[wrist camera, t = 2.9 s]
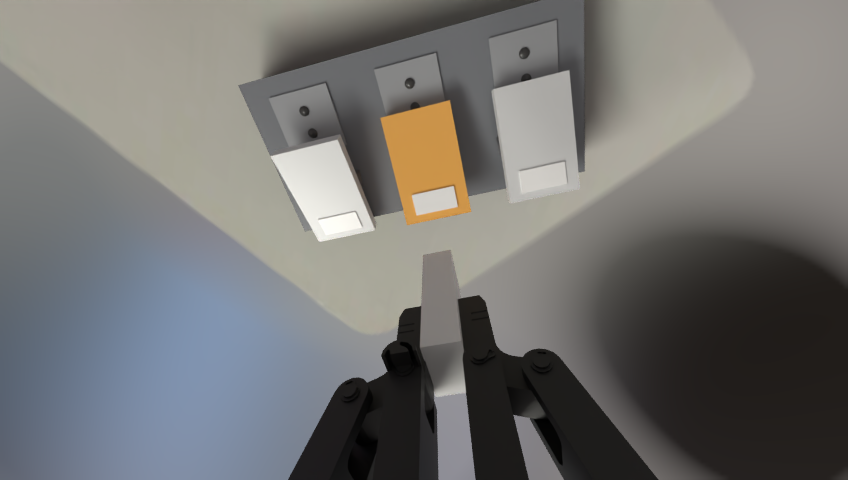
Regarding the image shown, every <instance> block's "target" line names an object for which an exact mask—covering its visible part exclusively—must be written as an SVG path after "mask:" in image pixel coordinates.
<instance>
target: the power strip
mask: <svg viewBox="0 0 848 480" xmlns="http://www.w3.org/2000/svg"><path fill="white" fill-rule="evenodd" d="M567 70H569V72H570V83H571V95H572V106H573V117H574V128H575V139H576V150H577V161H578V172H583V171H585V123H584V0H540V1H537V2H533V3H530V4H526V5H522V6H519V7H515V8H512V9H508V10H505V11H501V12H498V13H494V14H490V15H487V16H483V17H480V18H476V19H473V20H469V21H466V22H462V23H458V24H455V25H451V26H448V27H444V28H441V29H437V30H434V31H430V32H426V33H423V34H419V35H416V36H412V37H409V38H405V39H402V40H398V41H394V42H391V43H387V44H384V45H380V46H377V47H373V48H370V49H366V50H362V51H359V52H355V53H352V54H348V55H345V56H341V57H338V58H334V59H330V60H327V61H323V62H320V63H316V64H313V65H309V66H306V67H302V68H298V69H295V70H291V71H288V72H284V73H281V74H277V75H274V76H270V77H266V78H263V79H259V80H256V81H252V82H249V83H245V84H242V85H238V86H239V88H240V90H241V92H242V95H243V97H244V99H245V101H246V103H247V106H248V108H249V110H250V112H251V114H252V117H253V119H254V121H255V123H256V125H257V127H258V130H259V132H260V134H261V136H262V138H263V141H264V143H265V145H266V147H267V149H268V152H269V154H270V156H271V155H272V154H273V153H274V151H275V150H279V149H283V148H287V147H291V146H295V145H299V144H303V143H307V142H311V141H315V140H319V139H323V138H327V137H331V136H335V135H339V134H340V135H341V138H342V140H343V143H344V145H345V148H346V150H347V152H348V155H349V157H350V160H351V162H352V165H353V167H354V170H355V172H356V175H357V177H358V180H359V182H360V184H361V187H362V189H363V192H364V194H365V197H366V199H367V202H368V204H369V207H370V209H371V212H372V214H373V216H374V217H375V216H379V215H384V214H388V213H393V212H398V211H402V210H403V206H402V202H401V198H400V194H399V191H398V187H397V183H396V179H395V175H394V171H393V167H392V163H391V159H390V155H389V151H388V147H387V143H386V139H385V135H384V131H383V127H382V123H381V119H380V118H382V117H386V116H390V115H394V114H397V113H401V112H405V111H409V110H413V109H417V108H421V107H425V106H429V105H433V104H437V103H441V102H445V101H449V100H450V104H451V109H452V114H453V120H454V125H455V130H456V135H457V141H458V146H459V151H460V156H461V162H462V167H463V172H464V177H465V183H466V188H467V193H468V196H472V195H477V194H481V193H486V192H491V191H495V190H500V189H504V188H506V183H505V176H504V170H503V164H502V157H501V151H500V144H499V138H498V131H497V125H496V118H495V112H494V106H493V99H492V93H491V91H492V90H493V89H496V88H500V87H504V86H508V85H512V84H516V83H520V82H524V81H528V80H532V79H536V78H540V77H544V76H548V75H551V74H555V73H559V72H563V71H567ZM273 163H274V162H273ZM274 165H275V163H274ZM275 167H276V165H275ZM276 169H277V167H276ZM277 171H278V173H279V176H280V178H281V180H282V182H283V184H284V187H285V189H286V191H287V193H288V195H289V198H290V200H291V202H292V204H293V206H294V208H295V211H296V213H297V215H298V217H299V219H300V222H301V224H302V226H303V228H304V230H305V231H310V230H312V228H311V226H310V225H309V223H308V221H307V219H306V218H305V216H304V214H303V212H302V211H301V209H300V207H299V205H298V204H297V202H296V200H295V198H294V197H293V195H292V193H291V191H290V190H289V188H288V186H287V184H286V183H285V181H284V179H283V177H282V176H281V174H280V172H279V170H278V169H277Z"/></svg>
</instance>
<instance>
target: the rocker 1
mask: <svg viewBox="0 0 848 480" xmlns="http://www.w3.org/2000/svg"><path fill="white" fill-rule="evenodd" d="M271 158H272V160H273V162H274V163H275V165H276V167H277V169H278V170H279V172H280V174H281V176H282V177H283V179H284V181H285V183H286V184H287V186H288V188H289V190H290V191H291V193H292V195H293V197H294V198H295V200H296V202H297V204H298V205H299V207H300V209H301V211H302V212H303V214H304V216H305V218H306V219H307V221H308V223H309V225H310V226H311V228H312V230H313V232H314V233H315V235H316V237H317V239H318V240H319V242H321V241H326V240H331V239H336V238H340V237H345V236H350V235H355V234H359V233H364V232H369V231H374V230H375V228H376V221H375V219H374V216H373V214H372V212H371V209H370V207H369V204H368V202H367V199H366V197H365V194H364V192H363V189H362V187H361V184H360V182H359V180H358V177H357V175H356V172H355V170H354V167H353V165H352V162H351V160H350V157H349V155H348V152H347V150H346V148H345V145H344V143H343V140H342V138H341V135H340V134H339V135H335V136H331V137H327V138H323V139H319V140H315V141H311V142H307V143H303V144H299V145H295V146H291V147H287V148H283V149H279V150H275V151H274V153H273V154H272V155H271Z"/></svg>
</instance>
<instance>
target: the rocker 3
mask: <svg viewBox="0 0 848 480" xmlns="http://www.w3.org/2000/svg"><path fill="white" fill-rule="evenodd" d="M491 93H492V99H493V106H494V112H495V118H496V125H497V131H498V138H499V144H500V151H501V157H502V164H503V170H504V176H505V183H506V189H507V196H508V201H509V202H510V203H515V202H520V201H525V200H529V199H534V198H539V197H544V196H549V195H553V194H558V193H563V192H568V191H572V190H577V189H580V183H579V172H578V161H577V150H576V139H575V128H574V117H573V106H572V95H571V83H570V72H569V70H567V71H563V72H559V73H555V74H551V75H548V76H544V77H540V78H536V79H532V80H528V81H524V82H520V83H516V84H512V85H508V86H504V87H500V88H496V89H493V90H492V91H491Z"/></svg>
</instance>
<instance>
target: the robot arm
mask: <svg viewBox="0 0 848 480" xmlns="http://www.w3.org/2000/svg"><path fill="white" fill-rule="evenodd" d="M381 356H382V359H383V361H384V364H385V366H386V369H387V371H388V372H386V373H385V374H384V375H382V376H381V377H379V378H377V379H374V380H372V381H370V382H368V383H367V382H366V381H365V380H364V379H362V378H351V379H349V380H347V381H345V382H344V383H342V384H341V385H340V386H339V387H338V389H337V390H336V391H335V393H334V395H333V397H332V398H331V400H330V402H329V404H328V406H327V408H326V410H325V412H324V414H323V415H322V417H321V419H320V421H319V423H318V425H317V427H316V428H315V430H314V432H313V434H312V436H311V438H310V440H309V442H308V443H307V445H306V447H305V449H304V451H303V453H302V455H301V456H300V459H299V460H298V462H297V464H296V466H295V468H294V470H293V472H292V473H291V475H290V477H289V479H288V480H438V444H437V409H436V406H435V402H434V392H435V395H436V397H439V396H446V395H453V394H460V393H466V396H467V405H468V414H469V423H470V433H471V442H472V451H473V460H474V469H475V478H476V480H529V478H528V474H527V470H526V466H525V461H524V457H523V453H522V449H521V445H520V441H519V437H518V433H517V428H516V424H515V420H514V416H513V415H517V416H523V417H528V418H530V420H531V422H532V424H533V425H534V427H535V429H536V431H537V432H538V434H539V436H540V438H541V440H542V441H543V443H544V445H545V446H546V449H547V450H548V452H549V454H550V455H551V457H552V459H553V461H554V463H555V464H556V466H557V468H558V470H559V471H560V473H561V475H562V477H563V478H564V480H658V479H657V477H656V476H655V475H654V474H653V472H652V471H651V470H650V469H649V468H648V466H647V465H646V464H645V463H644V461H643V460H642V459H641V458H640V456H639V455H638V454H637V453H636V451H635V450H634V449H633V448H632V447H631V445H630V444H629V443H628V442H627V440H626V439H625V438H624V437H623V435H622V434H621V433H620V432H619V431H618V429H617V428H616V427H615V425H614V424H613V423H612V422H611V420H610V419H609V418H608V417H607V416H606V414H605V413H604V412H603V411H602V409H601V408H600V407H599V406H598V405H597V403H596V402H595V401H594V400H593V398H592V397H591V396H590V395H589V393H588V392H587V391H586V390H585V388H584V387H583V386H582V385H581V383H580V382H579V381H578V380H577V378H576V377H575V376H574V375H573V373H572V372H571V371H570V370H569V368H568V367H567V366H566V365H565V364H564V362H563V361H562V360H561V359H560V357H558V356H557V355H556V354H555V353H554V352H551V351H549V350H546V349H534V350H531V351H529V352H527V353H526V354H525V355H524V356H523V357H517V356H511V355H508V354H505V353H503V352H502V351H500V350H499V348H498V347H497V346H496V343H495V340H494V335H493V331H492V327H491V323H490V319H489V315H488V311H487V307H486V303H485V301H484V300H483V299H482V298H481V297H480V296H479V295H478V296H472V297H467V298H461V296H460V289H459V285H458V280H457V276H456V272H455V267H454V263H453V258H452V254H451V250H447V251H442V252H437V253H432V254H427V255H423V275H422V302H421V306H420V307H414V308H408V309H405V310H404V311H403V313H402V314H401V316H400V318H399V327H398V335H397V341H394V342H392V343H390V344H389V345H387V347H386V348H385V349H384V350H383V353H382V355H381Z"/></svg>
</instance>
